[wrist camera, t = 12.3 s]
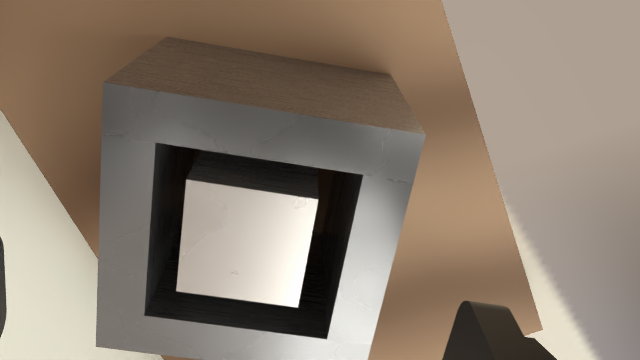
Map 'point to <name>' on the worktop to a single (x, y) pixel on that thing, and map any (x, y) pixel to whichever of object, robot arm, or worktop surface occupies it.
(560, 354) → the worktop surface
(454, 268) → the walnut base
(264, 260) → the square post
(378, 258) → the hollow metal block
